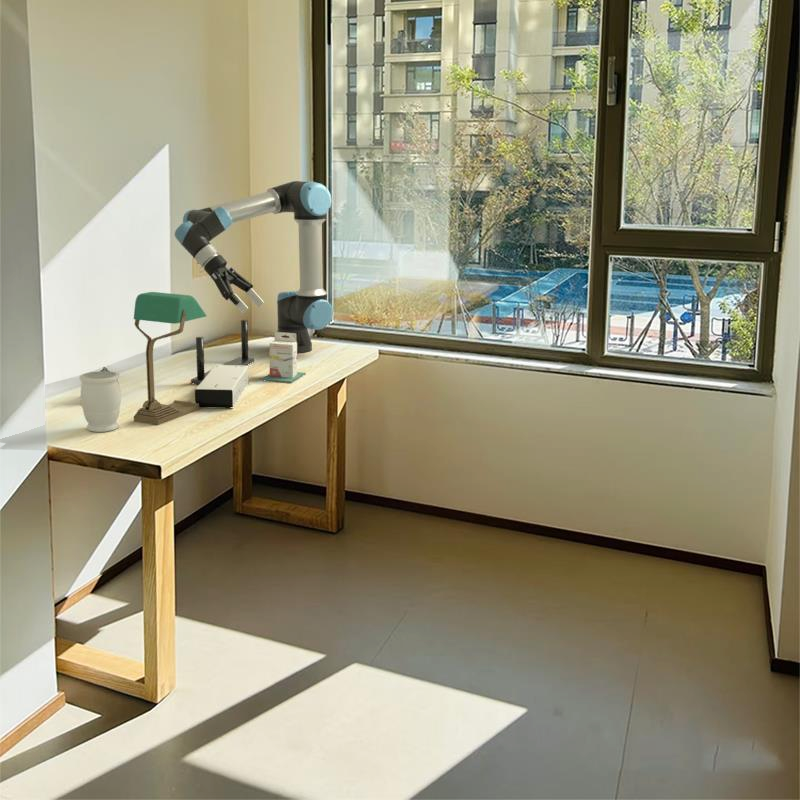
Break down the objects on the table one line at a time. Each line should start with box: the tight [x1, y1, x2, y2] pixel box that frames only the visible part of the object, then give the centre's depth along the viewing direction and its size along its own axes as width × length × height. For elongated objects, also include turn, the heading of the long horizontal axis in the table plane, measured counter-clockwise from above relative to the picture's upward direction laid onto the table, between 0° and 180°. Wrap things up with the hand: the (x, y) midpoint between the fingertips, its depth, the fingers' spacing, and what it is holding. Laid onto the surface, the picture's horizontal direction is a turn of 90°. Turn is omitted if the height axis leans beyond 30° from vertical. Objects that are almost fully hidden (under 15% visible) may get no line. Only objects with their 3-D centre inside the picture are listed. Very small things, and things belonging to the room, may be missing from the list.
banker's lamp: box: [133, 291, 208, 426], centre depth 264 cm, size 16×21×35 cm
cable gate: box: [190, 319, 255, 385], centre depth 321 cm, size 38×6×16 cm, turn 166°
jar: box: [79, 370, 122, 433], centre depth 252 cm, size 11×10×15 cm
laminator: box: [194, 364, 250, 408], centre depth 292 cm, size 34×12×6 cm, turn 1°
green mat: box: [260, 371, 306, 384], centre depth 318 cm, size 14×11×1 cm
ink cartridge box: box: [269, 331, 298, 378], centre depth 316 cm, size 9×5×15 cm, turn 78°
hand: (253, 307), depth 314 cm, fingers open, 13 cm apart
